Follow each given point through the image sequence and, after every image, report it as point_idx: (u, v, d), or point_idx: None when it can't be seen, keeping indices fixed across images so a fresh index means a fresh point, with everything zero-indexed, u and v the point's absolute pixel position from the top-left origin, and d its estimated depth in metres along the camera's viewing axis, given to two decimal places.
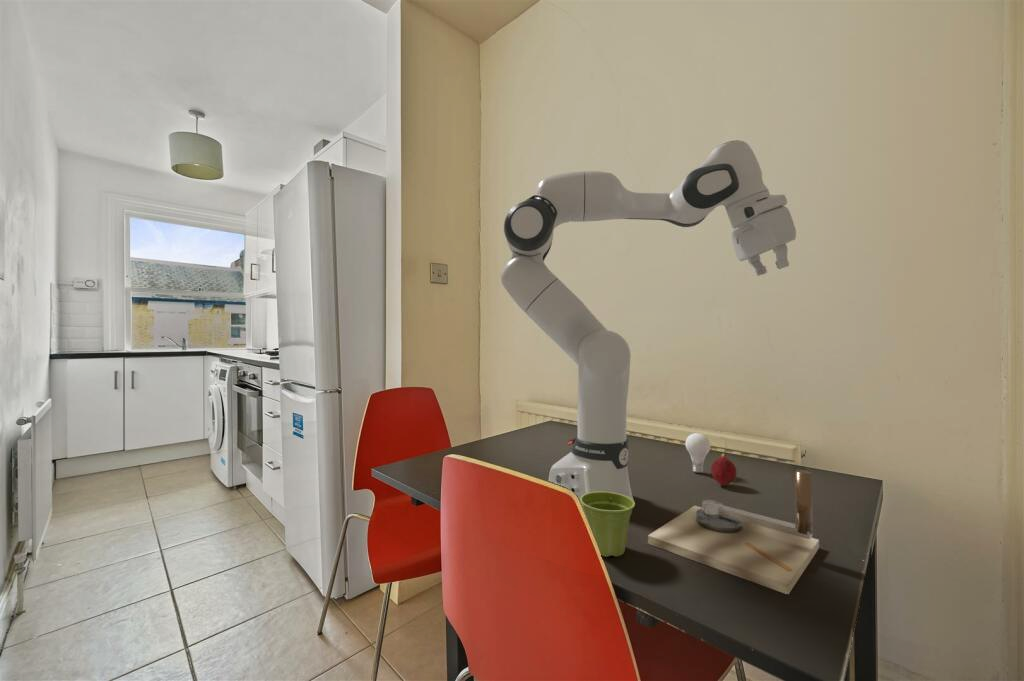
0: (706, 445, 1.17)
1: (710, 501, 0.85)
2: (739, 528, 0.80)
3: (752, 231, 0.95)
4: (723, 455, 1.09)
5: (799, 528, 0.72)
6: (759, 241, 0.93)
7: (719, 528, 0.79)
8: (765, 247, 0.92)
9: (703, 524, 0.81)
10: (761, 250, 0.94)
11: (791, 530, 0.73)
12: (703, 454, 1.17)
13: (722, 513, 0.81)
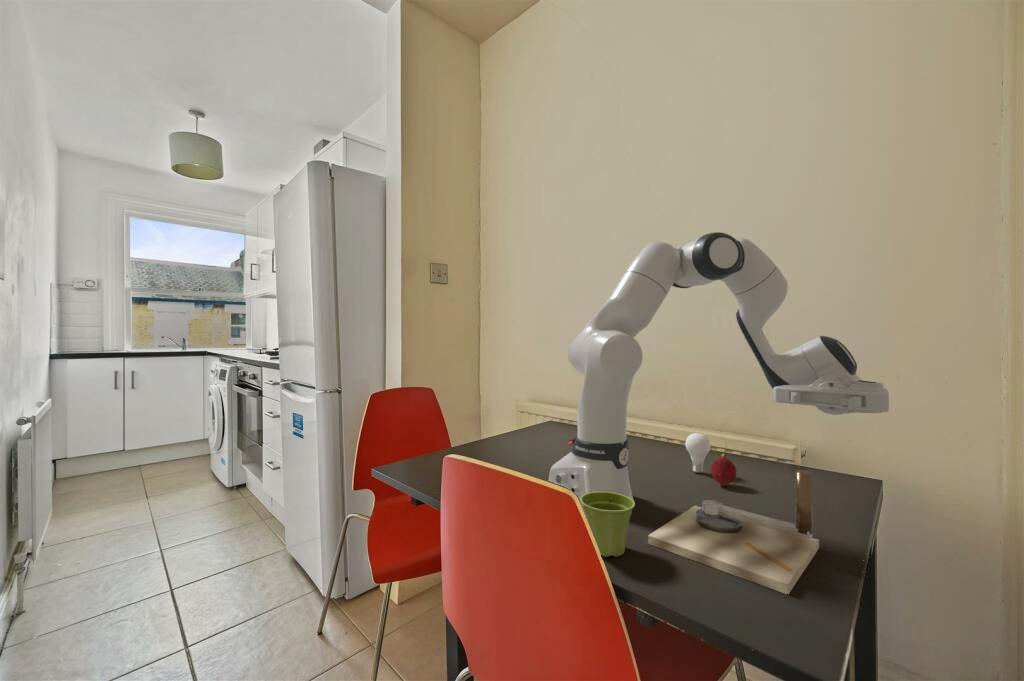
0: (706, 445, 1.17)
1: (710, 501, 0.85)
2: (739, 528, 0.80)
3: (835, 389, 0.95)
4: (723, 455, 1.09)
5: (799, 528, 0.72)
6: (843, 390, 0.92)
7: (719, 528, 0.79)
8: (851, 391, 0.89)
9: (703, 524, 0.81)
10: (838, 391, 0.91)
11: (791, 530, 0.73)
12: (703, 454, 1.17)
13: (722, 513, 0.81)
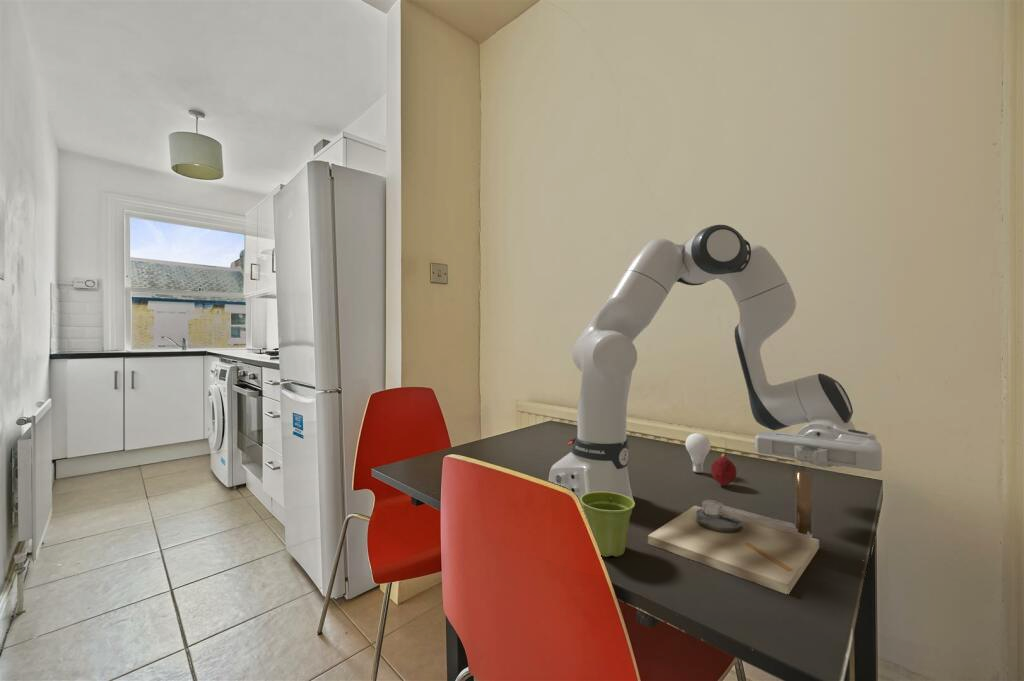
0: (706, 445, 1.17)
1: (710, 501, 0.85)
2: (739, 528, 0.80)
3: (822, 440, 0.85)
4: (723, 455, 1.09)
5: (799, 528, 0.72)
6: (831, 443, 0.82)
7: (719, 528, 0.79)
8: (839, 445, 0.80)
9: (703, 524, 0.81)
10: (825, 444, 0.81)
11: (791, 530, 0.73)
12: (703, 454, 1.17)
13: (722, 513, 0.81)
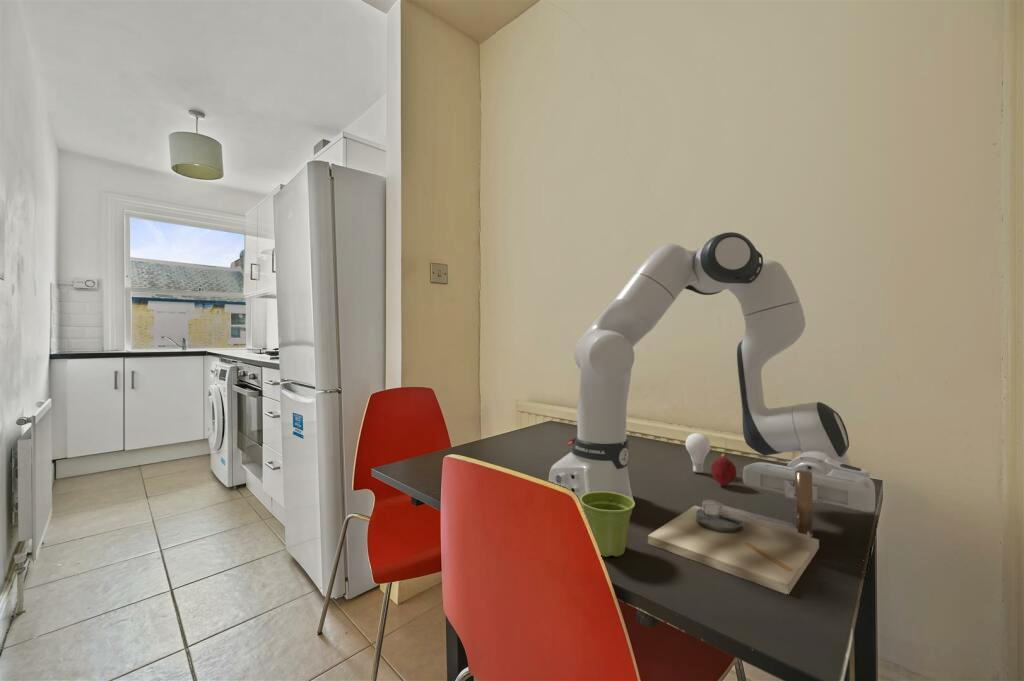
0: (706, 445, 1.17)
1: (710, 501, 0.85)
2: (739, 528, 0.80)
3: (813, 475, 0.81)
4: (723, 455, 1.09)
5: (799, 528, 0.72)
6: (822, 479, 0.78)
7: (719, 528, 0.79)
8: (830, 483, 0.76)
9: (703, 524, 0.81)
10: (816, 481, 0.77)
11: (791, 530, 0.73)
12: (703, 454, 1.17)
13: (722, 513, 0.81)
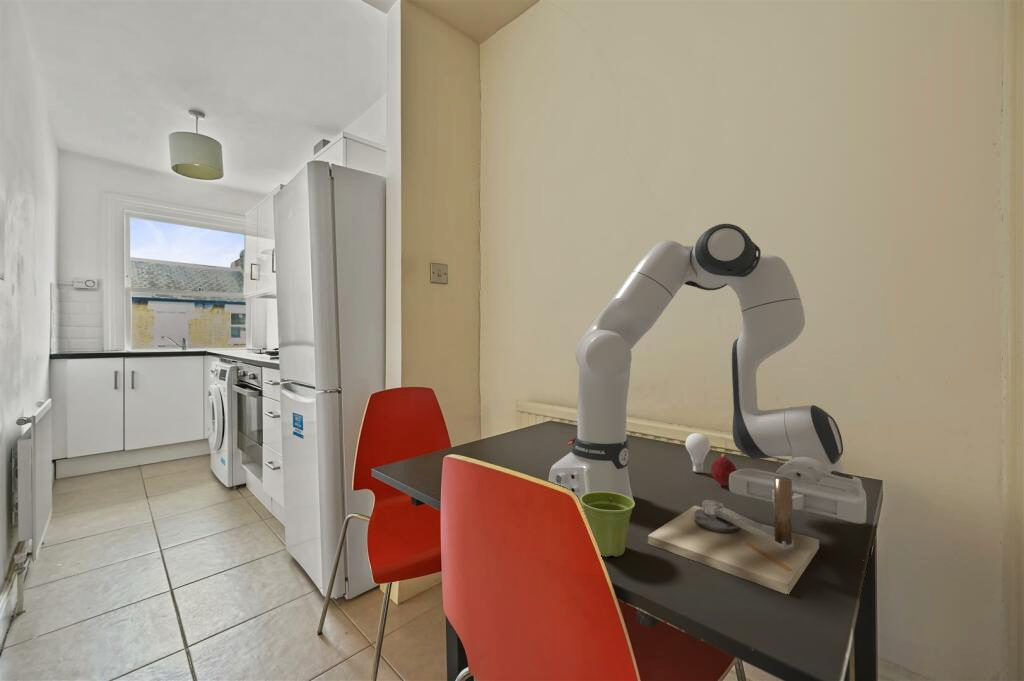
0: (706, 445, 1.17)
1: (712, 501, 0.85)
2: (730, 530, 0.79)
3: (802, 482, 0.77)
4: (723, 455, 1.09)
5: (775, 536, 0.70)
6: (811, 487, 0.74)
7: (707, 527, 0.80)
8: (819, 492, 0.71)
9: (696, 521, 0.83)
10: (804, 489, 0.73)
11: (769, 537, 0.71)
12: (703, 454, 1.17)
13: (717, 513, 0.81)
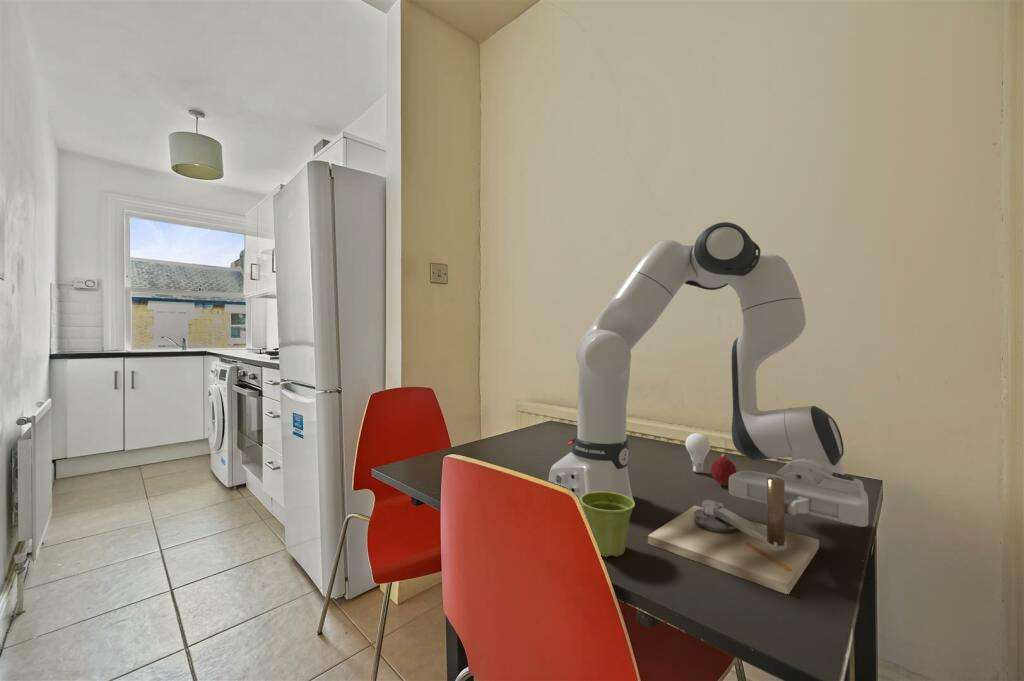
0: (706, 445, 1.17)
1: (712, 501, 0.84)
2: (727, 530, 0.79)
3: (803, 485, 0.76)
4: (723, 455, 1.09)
5: (767, 537, 0.69)
6: (812, 490, 0.72)
7: (705, 526, 0.80)
8: (821, 494, 0.70)
9: (694, 520, 0.83)
10: (805, 492, 0.72)
11: (762, 538, 0.70)
12: (703, 454, 1.17)
13: (715, 513, 0.81)
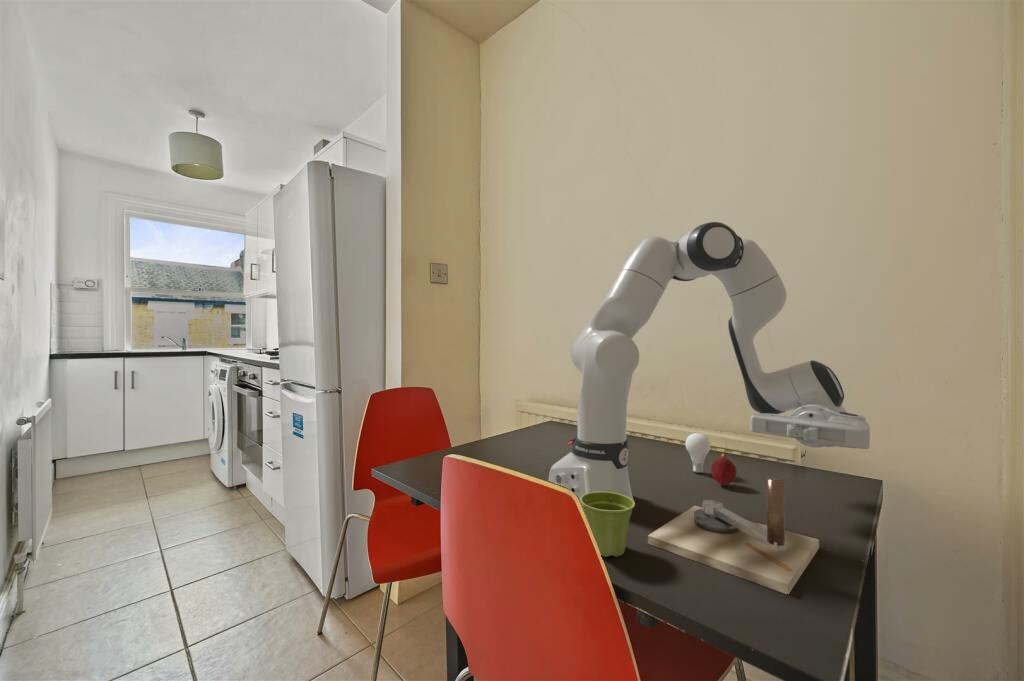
0: (706, 445, 1.17)
1: (712, 501, 0.84)
2: (727, 530, 0.79)
3: (814, 421, 0.89)
4: (723, 455, 1.09)
5: (767, 537, 0.69)
6: (822, 422, 0.86)
7: (705, 526, 0.80)
8: (830, 425, 0.83)
9: (694, 520, 0.83)
10: (816, 423, 0.85)
11: (762, 538, 0.70)
12: (703, 454, 1.17)
13: (715, 513, 0.81)
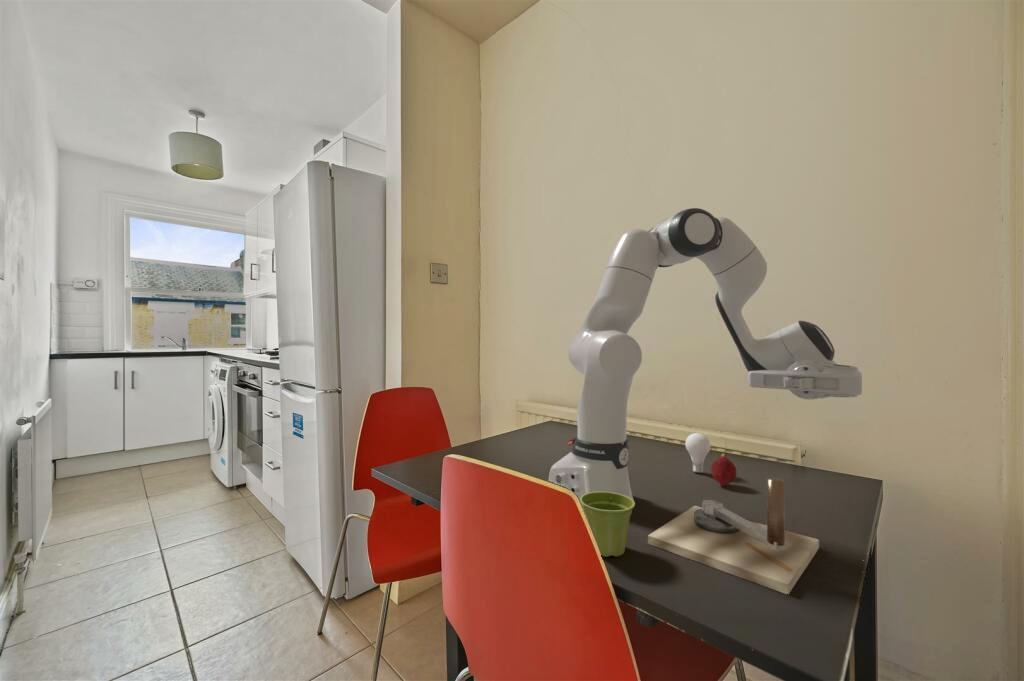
0: (706, 445, 1.17)
1: (712, 501, 0.84)
2: (727, 530, 0.79)
3: None
4: (723, 455, 1.09)
5: (767, 537, 0.69)
6: (817, 373, 0.90)
7: (705, 526, 0.80)
8: (824, 374, 0.88)
9: (694, 520, 0.83)
10: (811, 374, 0.89)
11: (762, 538, 0.70)
12: (703, 454, 1.17)
13: (715, 513, 0.81)
